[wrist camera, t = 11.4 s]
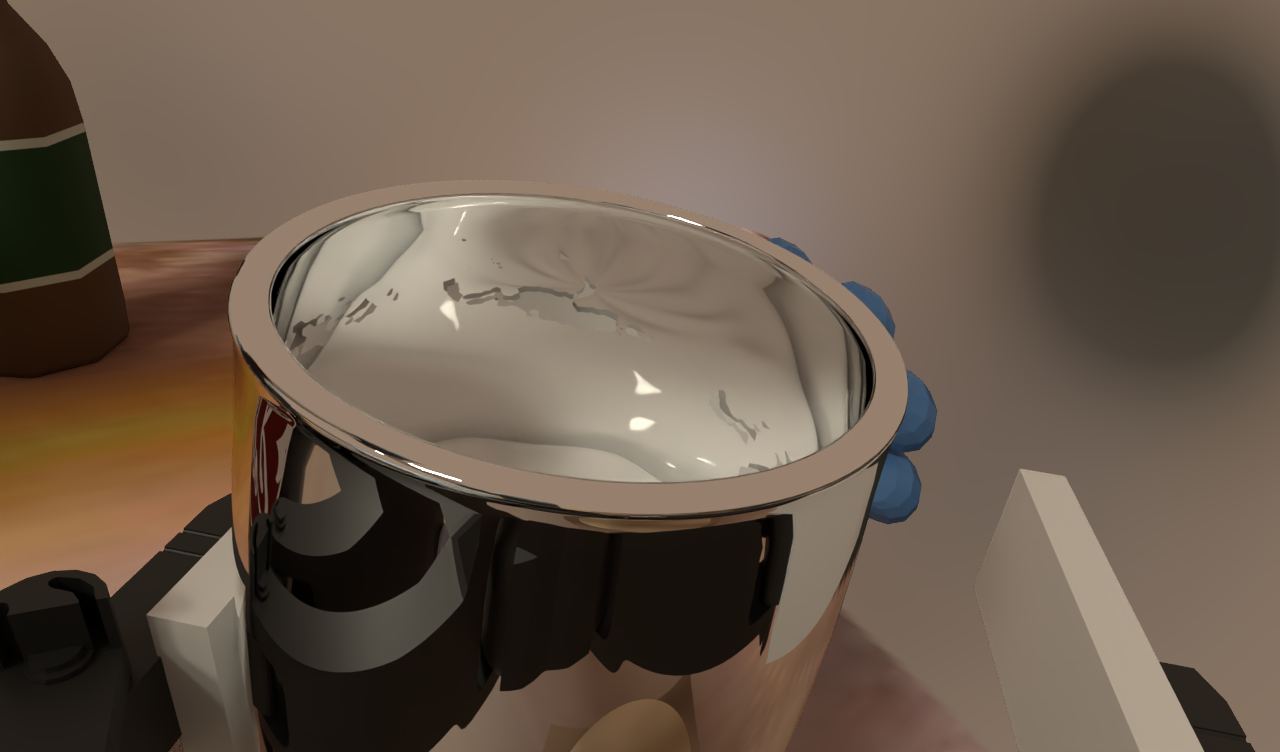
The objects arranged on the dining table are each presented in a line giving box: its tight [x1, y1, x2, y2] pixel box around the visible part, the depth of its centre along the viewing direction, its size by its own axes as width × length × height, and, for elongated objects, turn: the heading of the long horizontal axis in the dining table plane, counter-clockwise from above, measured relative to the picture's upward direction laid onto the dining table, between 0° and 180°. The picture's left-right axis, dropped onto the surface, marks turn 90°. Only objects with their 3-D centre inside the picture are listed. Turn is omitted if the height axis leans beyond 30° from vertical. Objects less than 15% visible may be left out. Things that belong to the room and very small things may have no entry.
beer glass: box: [228, 180, 909, 752], centre depth 12 cm, size 7×7×15 cm
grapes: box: [767, 238, 937, 524], centre depth 30 cm, size 12×7×12 cm, turn 58°
